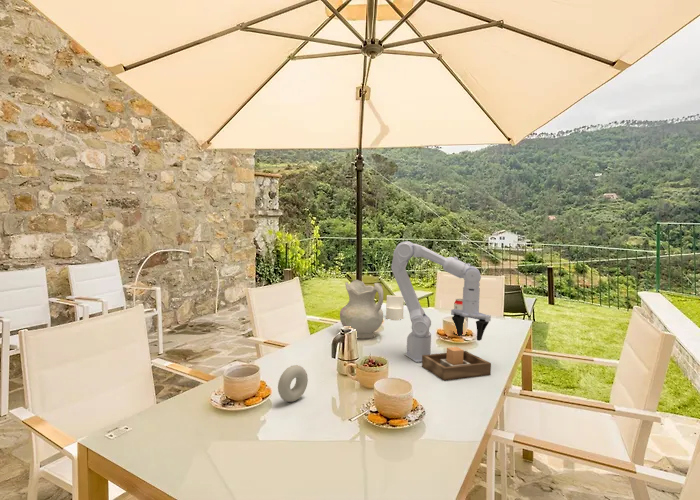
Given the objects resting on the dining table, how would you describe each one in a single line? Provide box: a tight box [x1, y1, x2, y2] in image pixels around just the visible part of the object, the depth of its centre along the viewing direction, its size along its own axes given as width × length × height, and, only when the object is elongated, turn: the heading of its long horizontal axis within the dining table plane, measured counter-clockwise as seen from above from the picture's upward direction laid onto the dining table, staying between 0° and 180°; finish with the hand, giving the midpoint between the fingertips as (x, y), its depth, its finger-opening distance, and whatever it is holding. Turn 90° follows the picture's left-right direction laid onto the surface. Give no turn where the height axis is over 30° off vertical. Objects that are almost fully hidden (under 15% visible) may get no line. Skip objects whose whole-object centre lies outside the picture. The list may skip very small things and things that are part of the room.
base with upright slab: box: [385, 294, 405, 321], centre depth 219 cm, size 9×9×12 cm
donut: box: [277, 364, 309, 403], centre depth 115 cm, size 10×4×10 cm, turn 140°
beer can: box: [453, 298, 469, 327], centre depth 189 cm, size 6×6×16 cm
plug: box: [446, 346, 465, 365], centre depth 141 cm, size 4×4×7 cm
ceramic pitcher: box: [339, 279, 384, 340], centre depth 183 cm, size 22×20×25 cm
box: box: [421, 350, 492, 382], centre depth 142 cm, size 14×18×4 cm
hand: (469, 337), depth 149 cm, fingers open, 7 cm apart
